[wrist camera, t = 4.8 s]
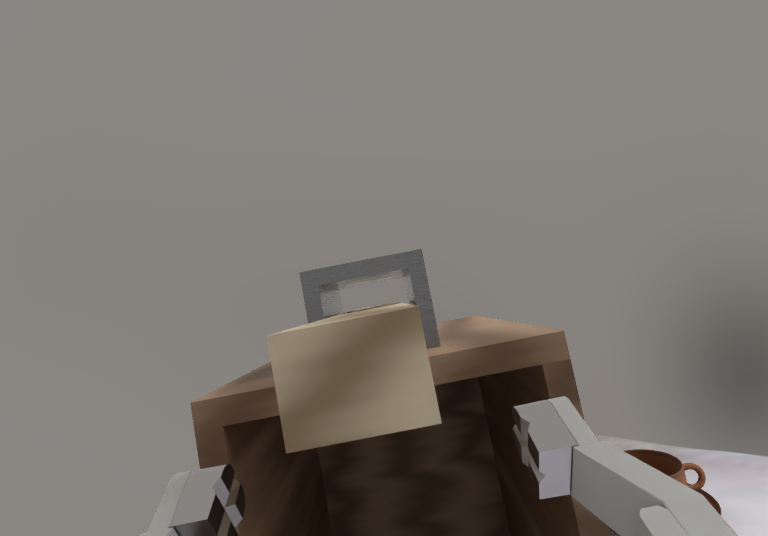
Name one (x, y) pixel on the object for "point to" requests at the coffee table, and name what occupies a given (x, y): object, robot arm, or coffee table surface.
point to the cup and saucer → (674, 470)
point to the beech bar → (353, 377)
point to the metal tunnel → (407, 265)
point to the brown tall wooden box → (406, 449)
